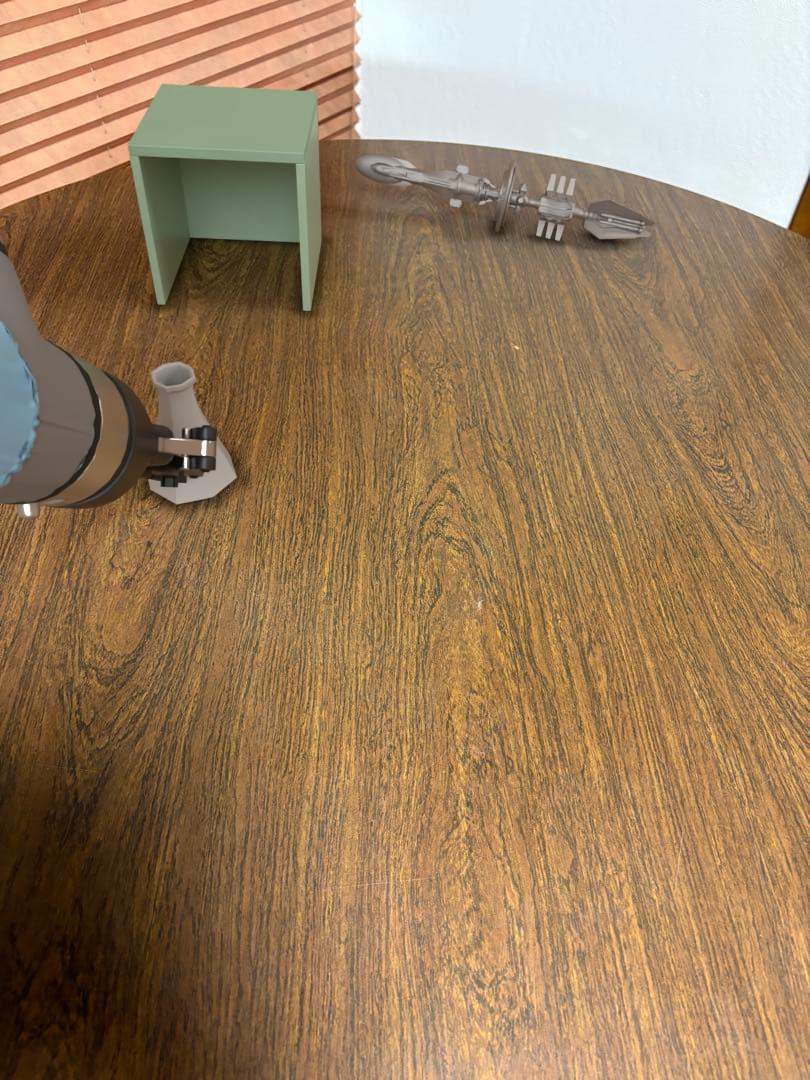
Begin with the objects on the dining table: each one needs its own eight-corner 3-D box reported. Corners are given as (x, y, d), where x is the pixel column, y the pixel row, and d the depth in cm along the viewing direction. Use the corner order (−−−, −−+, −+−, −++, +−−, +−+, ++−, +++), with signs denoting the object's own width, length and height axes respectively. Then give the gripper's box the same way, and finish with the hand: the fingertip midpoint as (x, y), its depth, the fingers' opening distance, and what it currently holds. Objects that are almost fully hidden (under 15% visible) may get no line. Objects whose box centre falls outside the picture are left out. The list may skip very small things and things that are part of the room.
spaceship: (365, 126, 101) (355, 124, 94) (656, 191, 101) (669, 194, 93) (354, 197, 104) (343, 201, 97) (635, 260, 104) (645, 268, 97)
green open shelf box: (310, 311, 88) (304, 153, 76) (157, 304, 87) (127, 144, 76) (321, 240, 98) (317, 91, 86) (184, 234, 98) (161, 83, 86)
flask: (172, 518, 67) (149, 417, 60) (130, 467, 71) (105, 366, 63) (252, 481, 70) (240, 381, 63) (208, 434, 74) (193, 335, 67)
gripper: (-81, 502, 42) (89, 511, 66) (187, 512, 42) (261, 517, 66) (-77, 349, 42) (92, 412, 66) (192, 360, 42) (264, 419, 66)
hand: (176, 465), depth 66 cm, fingers closed
